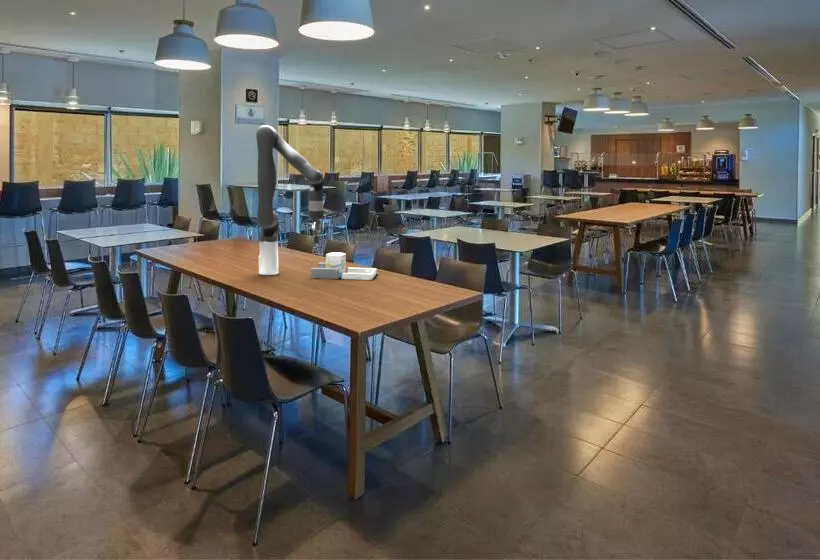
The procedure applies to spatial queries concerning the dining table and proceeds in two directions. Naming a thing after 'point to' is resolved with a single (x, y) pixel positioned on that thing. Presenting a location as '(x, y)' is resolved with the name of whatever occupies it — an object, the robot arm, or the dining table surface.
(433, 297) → the dining table surface
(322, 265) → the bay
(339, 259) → the ink box
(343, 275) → the tray frame
